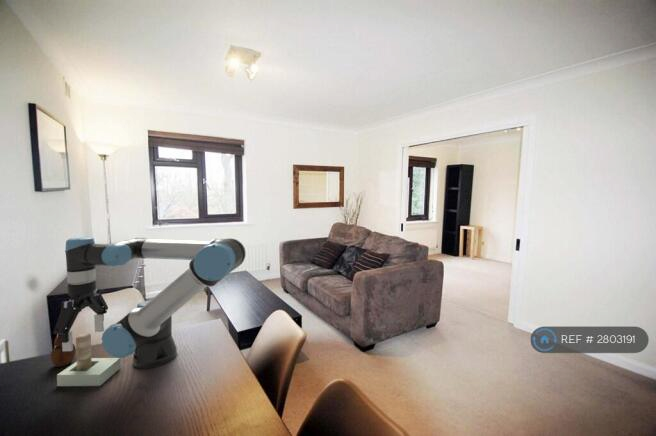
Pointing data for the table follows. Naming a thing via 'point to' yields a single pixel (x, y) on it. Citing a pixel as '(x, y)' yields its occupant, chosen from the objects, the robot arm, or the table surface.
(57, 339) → the wooden figurine
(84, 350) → the dowel
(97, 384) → the socket block
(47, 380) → the table surface
